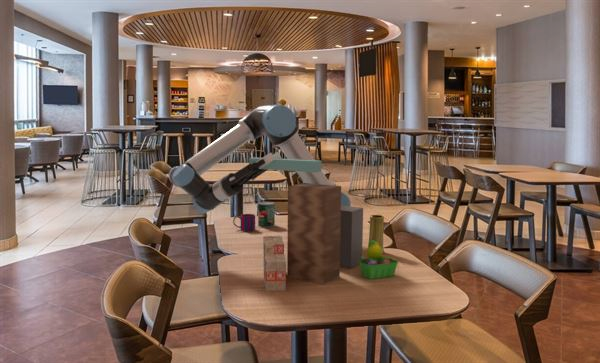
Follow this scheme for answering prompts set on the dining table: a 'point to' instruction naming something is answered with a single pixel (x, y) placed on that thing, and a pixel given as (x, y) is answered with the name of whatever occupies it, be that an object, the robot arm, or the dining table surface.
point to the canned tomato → (266, 214)
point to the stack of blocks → (274, 263)
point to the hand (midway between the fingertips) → (275, 155)
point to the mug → (246, 222)
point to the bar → (291, 165)
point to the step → (351, 236)
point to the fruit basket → (377, 262)
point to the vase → (376, 229)
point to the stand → (314, 232)
